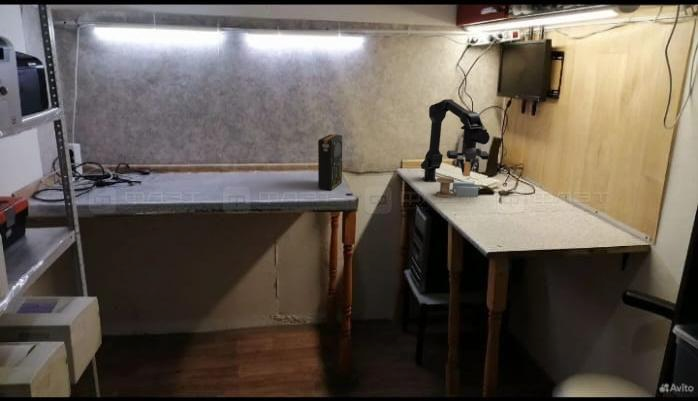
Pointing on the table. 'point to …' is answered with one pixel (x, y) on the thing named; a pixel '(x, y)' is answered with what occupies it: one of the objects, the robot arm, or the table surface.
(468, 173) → the brown wooden block
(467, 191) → the bracket
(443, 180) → the tan door knob
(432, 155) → the robot arm
